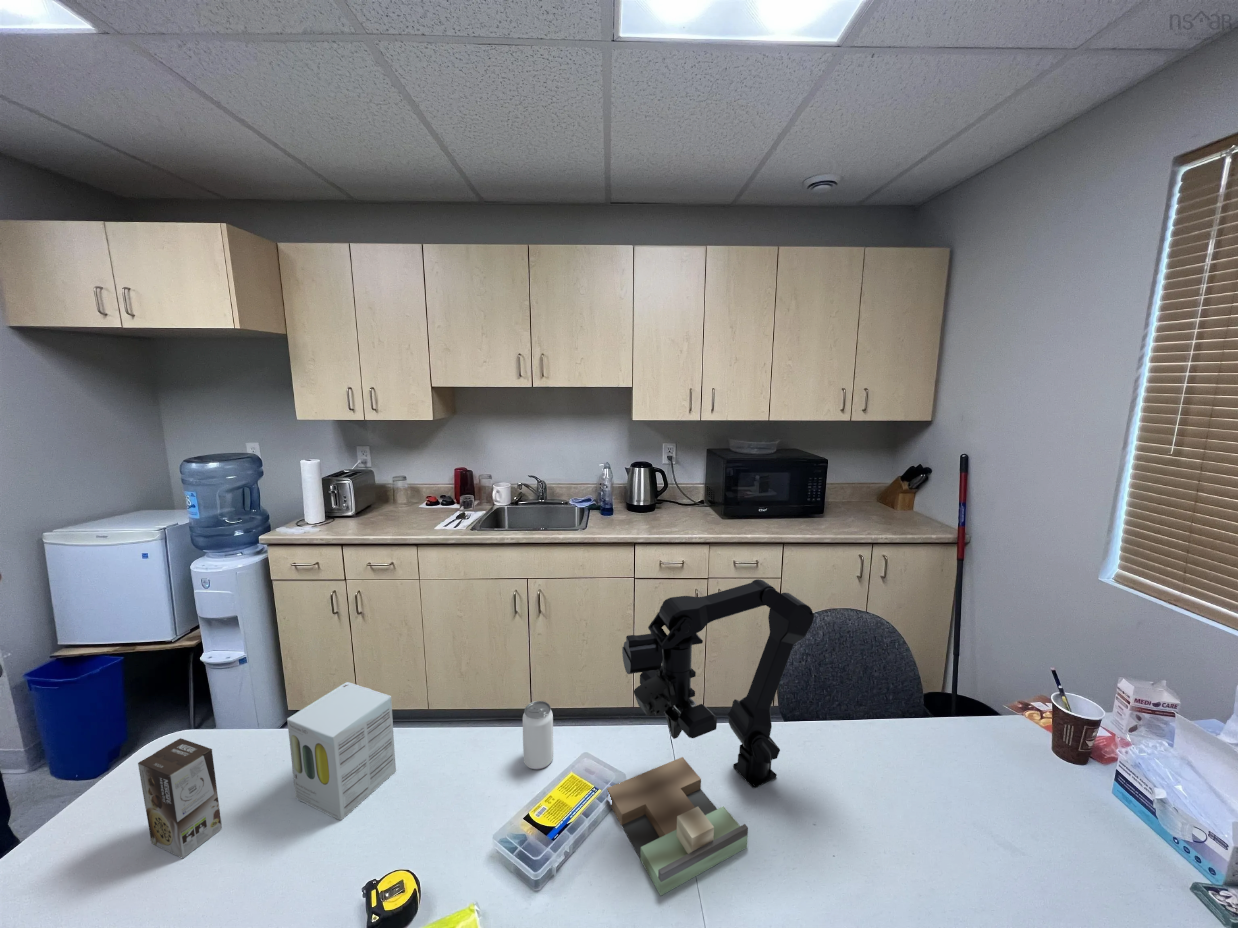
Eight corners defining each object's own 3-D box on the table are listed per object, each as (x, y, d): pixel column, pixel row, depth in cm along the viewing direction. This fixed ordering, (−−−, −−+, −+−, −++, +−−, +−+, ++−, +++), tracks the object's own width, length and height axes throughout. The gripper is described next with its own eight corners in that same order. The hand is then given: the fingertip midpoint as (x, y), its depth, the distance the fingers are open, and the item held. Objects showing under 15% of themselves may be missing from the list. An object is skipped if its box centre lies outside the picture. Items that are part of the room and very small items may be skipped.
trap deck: (606, 799, 91) (606, 781, 91) (682, 767, 99) (682, 750, 99) (660, 895, 74) (661, 873, 73) (747, 847, 82) (748, 827, 81)
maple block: (697, 825, 83) (698, 806, 83) (713, 847, 79) (713, 826, 79) (676, 836, 81) (677, 816, 81) (691, 858, 77) (692, 837, 77)
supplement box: (292, 799, 91) (284, 718, 88) (353, 752, 103) (347, 679, 101) (340, 822, 86) (332, 737, 84) (397, 770, 98) (392, 694, 96)
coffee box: (224, 827, 85) (214, 748, 83) (181, 860, 79) (169, 775, 77) (192, 812, 88) (181, 735, 85) (148, 843, 82) (136, 761, 79)
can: (547, 772, 98) (546, 721, 96) (518, 767, 99) (517, 716, 97) (557, 750, 104) (556, 701, 102) (530, 745, 105) (529, 697, 103)
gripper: (617, 651, 94) (617, 720, 96) (668, 704, 78) (666, 787, 80) (663, 638, 99) (662, 704, 101) (720, 686, 83) (717, 764, 85)
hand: (674, 737), depth 92 cm, fingers closed
